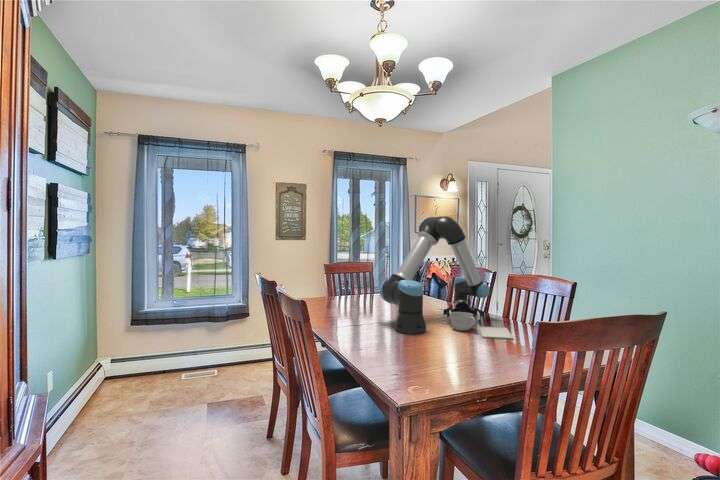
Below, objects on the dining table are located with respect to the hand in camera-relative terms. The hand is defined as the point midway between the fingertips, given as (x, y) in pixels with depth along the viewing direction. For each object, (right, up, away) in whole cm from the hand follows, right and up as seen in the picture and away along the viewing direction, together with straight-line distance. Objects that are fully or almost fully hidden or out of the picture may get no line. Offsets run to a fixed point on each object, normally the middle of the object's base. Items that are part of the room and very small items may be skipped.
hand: (464, 316), depth 184 cm
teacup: (-2, -6, -4) cm, 8 cm away
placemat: (+11, -6, -9) cm, 16 cm away
